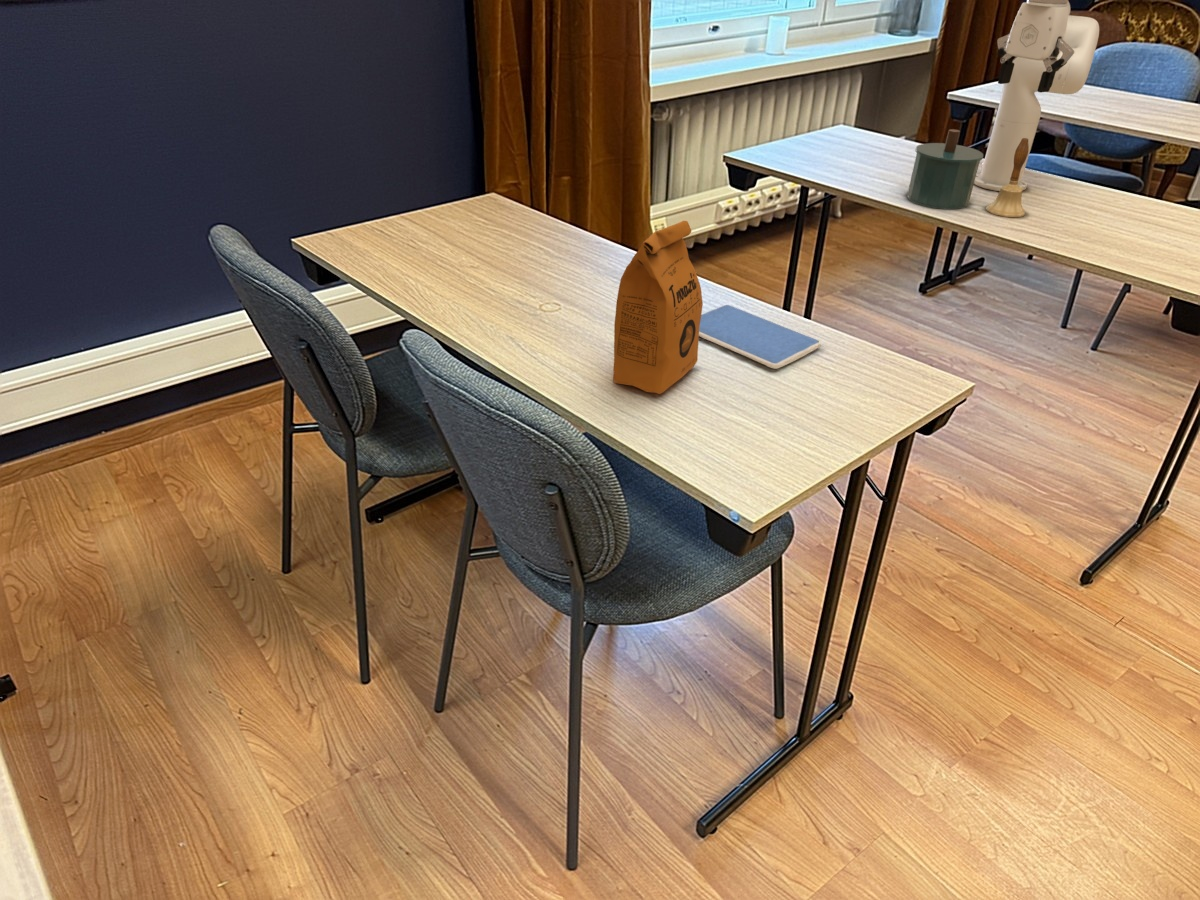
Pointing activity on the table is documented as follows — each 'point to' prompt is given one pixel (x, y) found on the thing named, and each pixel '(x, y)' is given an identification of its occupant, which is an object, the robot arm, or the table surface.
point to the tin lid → (949, 150)
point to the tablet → (755, 336)
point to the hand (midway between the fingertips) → (1022, 87)
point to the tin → (941, 183)
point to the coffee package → (657, 313)
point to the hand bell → (1011, 188)
